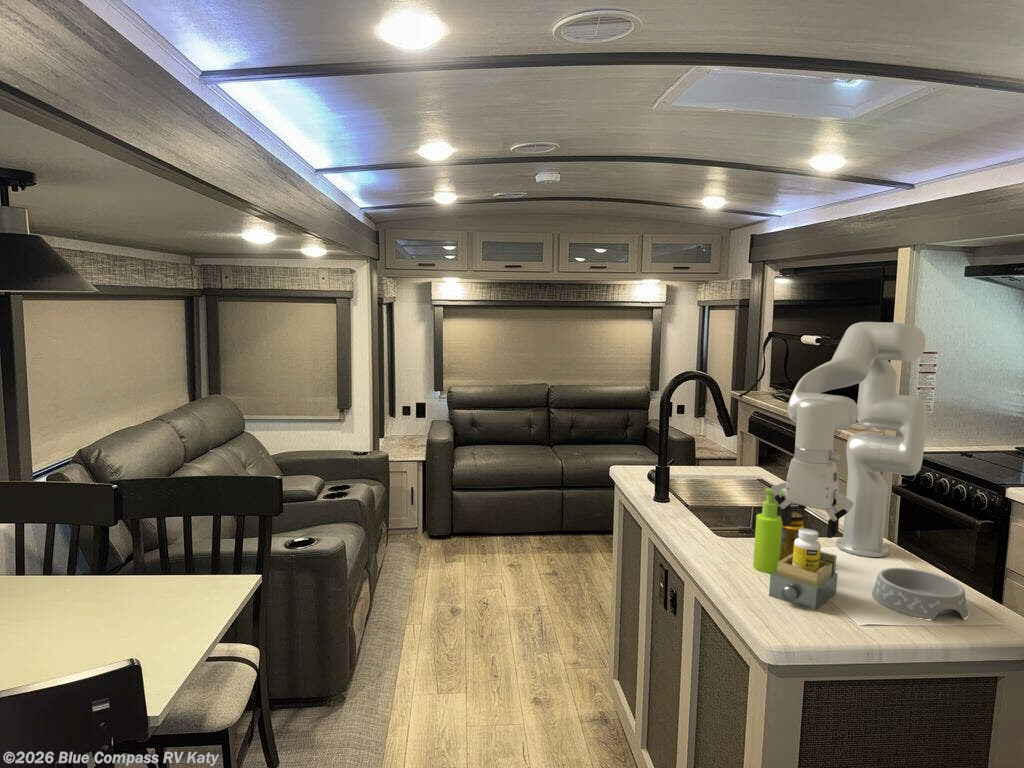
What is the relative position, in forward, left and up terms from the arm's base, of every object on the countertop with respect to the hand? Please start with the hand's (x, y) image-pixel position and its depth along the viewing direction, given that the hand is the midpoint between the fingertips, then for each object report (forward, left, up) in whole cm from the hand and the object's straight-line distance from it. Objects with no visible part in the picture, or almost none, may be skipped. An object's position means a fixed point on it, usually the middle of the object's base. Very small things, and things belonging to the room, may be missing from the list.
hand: (808, 530), depth 144 cm
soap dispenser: (-8, -12, -15) cm, 21 cm away
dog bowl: (-15, +19, -15) cm, 29 cm away
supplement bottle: (+1, 0, -10) cm, 10 cm away
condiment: (-18, -12, -15) cm, 27 cm away
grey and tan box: (+1, 0, -15) cm, 15 cm away
